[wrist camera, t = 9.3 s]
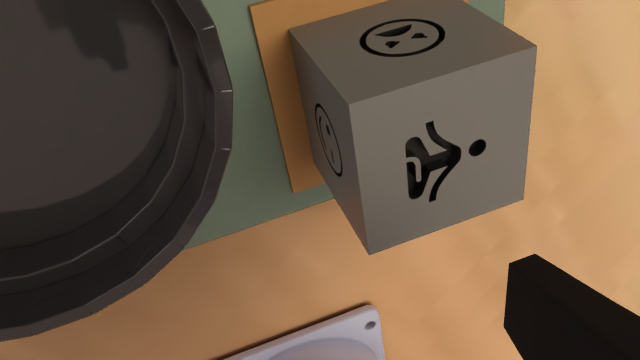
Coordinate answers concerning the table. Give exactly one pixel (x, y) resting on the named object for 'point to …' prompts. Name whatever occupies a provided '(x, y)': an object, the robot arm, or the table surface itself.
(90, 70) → the frying pan
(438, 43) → the dice cube
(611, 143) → the table surface
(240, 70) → the desk mat
